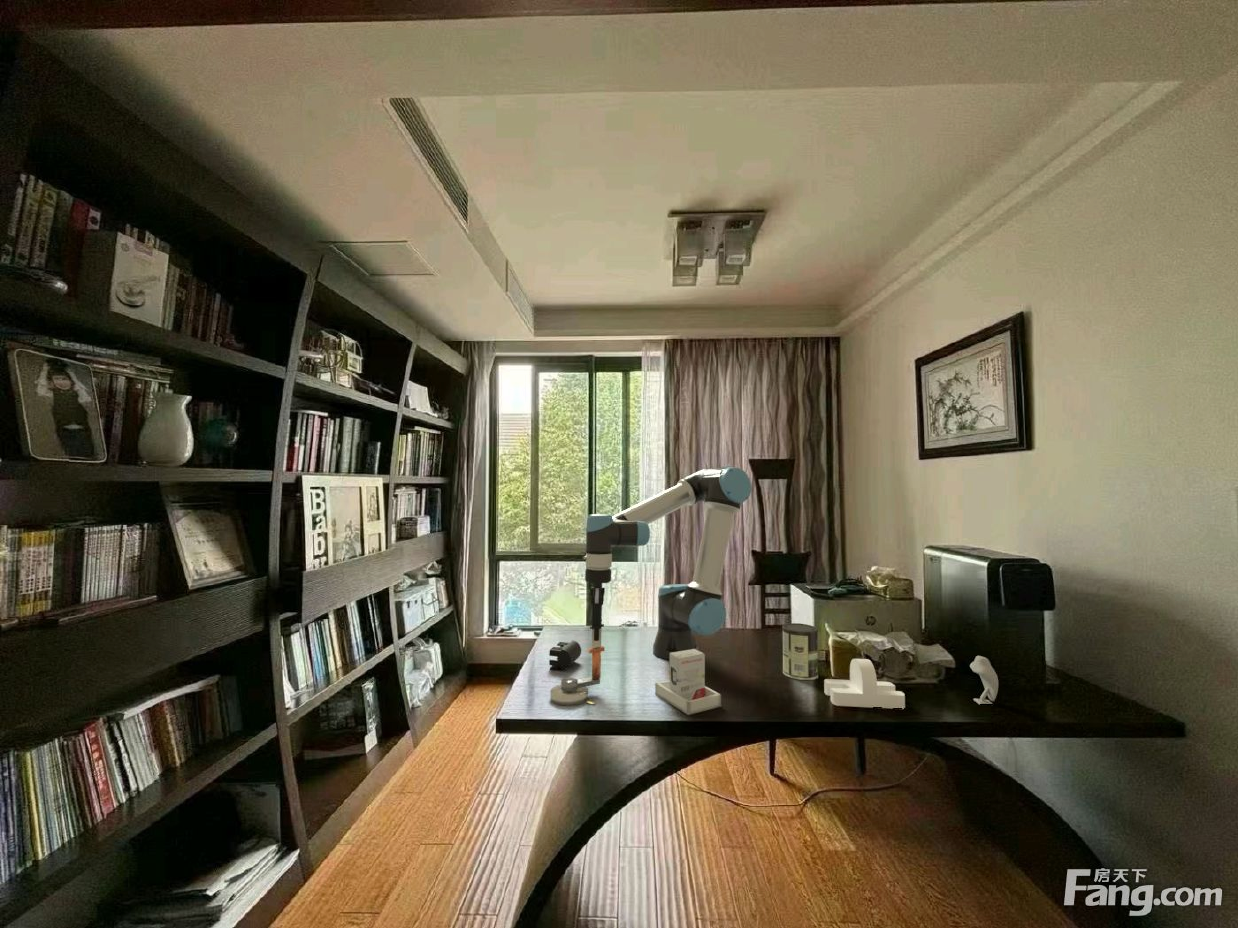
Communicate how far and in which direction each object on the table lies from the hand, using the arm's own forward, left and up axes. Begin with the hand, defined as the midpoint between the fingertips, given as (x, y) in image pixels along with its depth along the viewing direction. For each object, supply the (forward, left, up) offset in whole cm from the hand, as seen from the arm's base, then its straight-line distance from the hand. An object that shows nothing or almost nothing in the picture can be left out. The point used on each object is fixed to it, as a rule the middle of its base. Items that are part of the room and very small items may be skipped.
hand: (596, 650), depth 147 cm
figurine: (-85, +60, -10) cm, 105 cm away
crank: (+7, +5, -7) cm, 11 cm away
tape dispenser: (-58, +43, -10) cm, 73 cm away
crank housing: (+11, +6, -9) cm, 16 cm away
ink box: (-16, +21, -9) cm, 28 cm away
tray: (-16, +21, -9) cm, 28 cm away
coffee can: (-58, +22, -10) cm, 63 cm away
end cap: (+2, -18, -10) cm, 20 cm away
